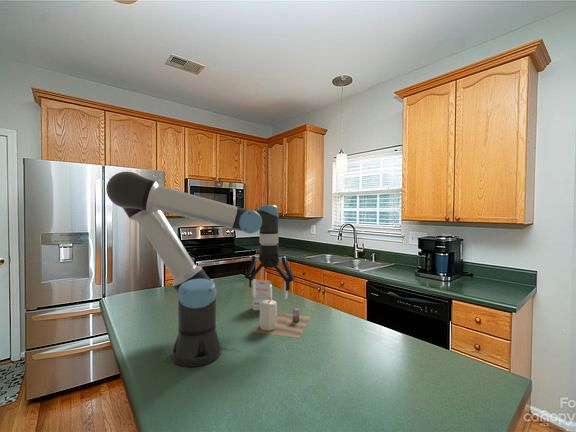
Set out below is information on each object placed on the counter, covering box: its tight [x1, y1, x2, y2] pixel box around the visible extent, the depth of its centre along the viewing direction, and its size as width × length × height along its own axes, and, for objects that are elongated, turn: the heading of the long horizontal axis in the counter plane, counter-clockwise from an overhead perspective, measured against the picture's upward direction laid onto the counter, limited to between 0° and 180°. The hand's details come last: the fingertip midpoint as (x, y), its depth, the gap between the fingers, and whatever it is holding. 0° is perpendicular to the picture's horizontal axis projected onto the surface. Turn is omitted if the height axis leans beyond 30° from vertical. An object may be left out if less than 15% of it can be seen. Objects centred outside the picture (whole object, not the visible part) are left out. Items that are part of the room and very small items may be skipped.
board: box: [253, 307, 312, 339], centre depth 116 cm, size 22×18×6 cm
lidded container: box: [259, 299, 278, 331], centre depth 112 cm, size 6×6×10 cm
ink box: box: [252, 279, 273, 311], centre depth 133 cm, size 9×5×15 cm, turn 84°
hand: (269, 297), depth 112 cm, fingers open, 13 cm apart
